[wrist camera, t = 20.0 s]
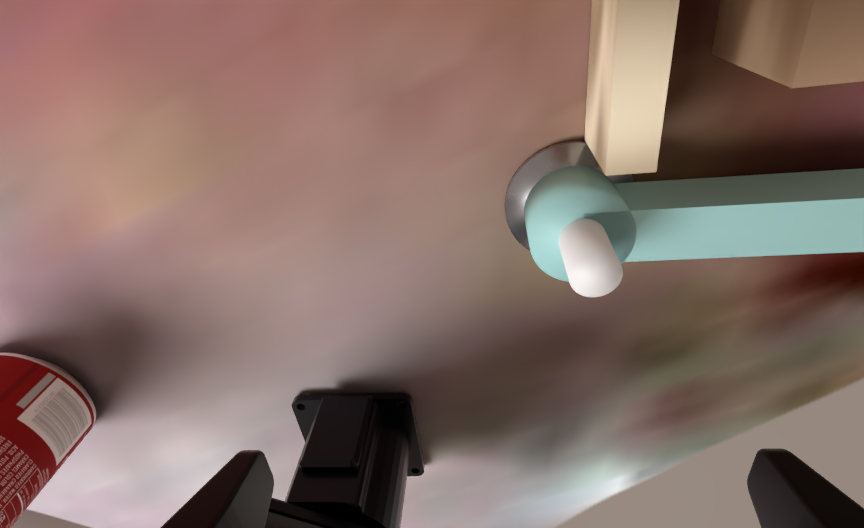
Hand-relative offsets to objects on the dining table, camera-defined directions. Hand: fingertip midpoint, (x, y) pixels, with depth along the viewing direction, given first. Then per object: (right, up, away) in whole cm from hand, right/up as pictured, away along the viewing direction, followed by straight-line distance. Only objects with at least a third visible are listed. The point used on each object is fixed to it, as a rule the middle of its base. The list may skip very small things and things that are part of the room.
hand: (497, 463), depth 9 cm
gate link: (+11, +6, +9) cm, 15 cm away
